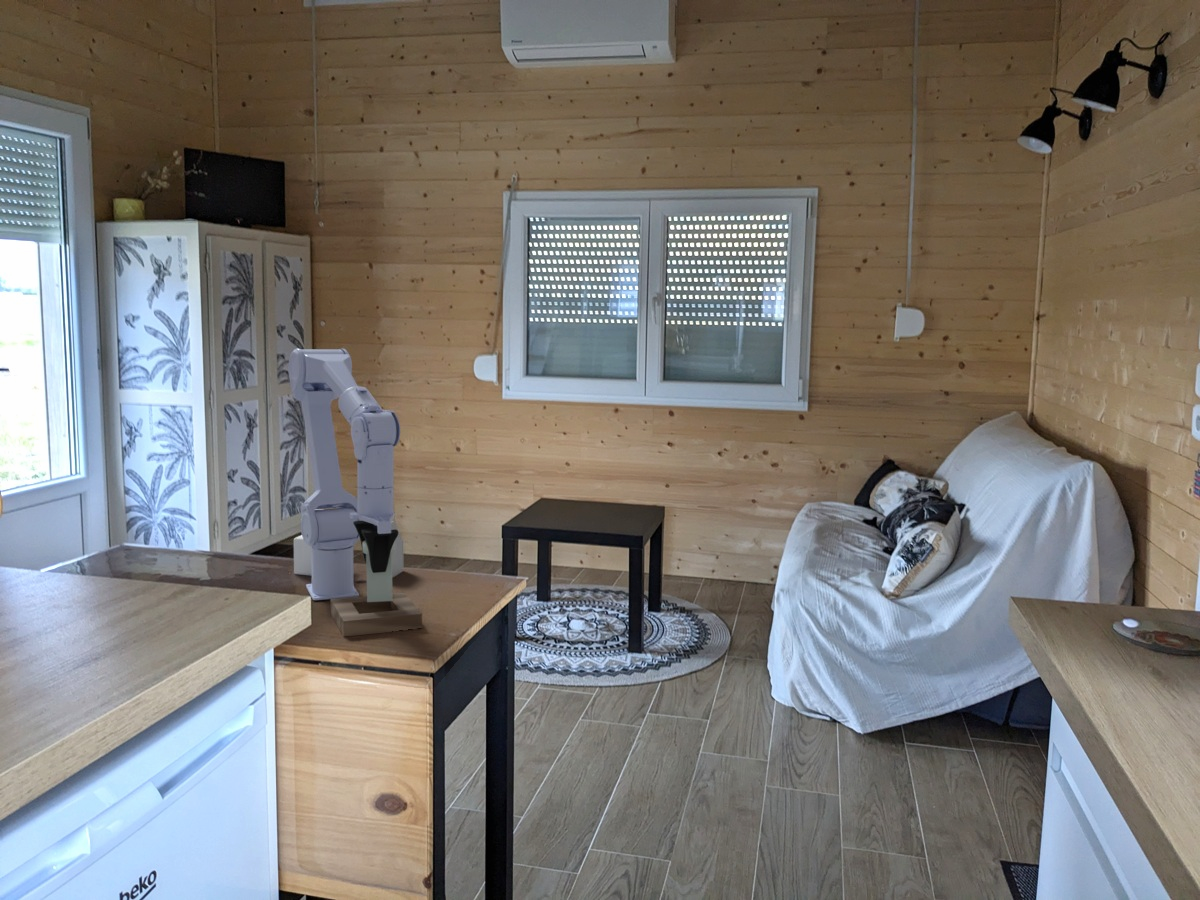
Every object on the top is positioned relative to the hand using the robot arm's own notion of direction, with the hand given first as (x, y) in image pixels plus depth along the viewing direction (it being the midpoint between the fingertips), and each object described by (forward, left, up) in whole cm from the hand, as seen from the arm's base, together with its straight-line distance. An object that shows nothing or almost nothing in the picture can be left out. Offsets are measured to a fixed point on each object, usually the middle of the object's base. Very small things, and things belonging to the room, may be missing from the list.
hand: (375, 567), depth 163 cm
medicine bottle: (-34, -4, -9) cm, 35 cm away
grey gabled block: (-28, +8, -9) cm, 31 cm away
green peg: (0, +1, -5) cm, 5 cm away
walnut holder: (0, 0, -9) cm, 9 cm away
